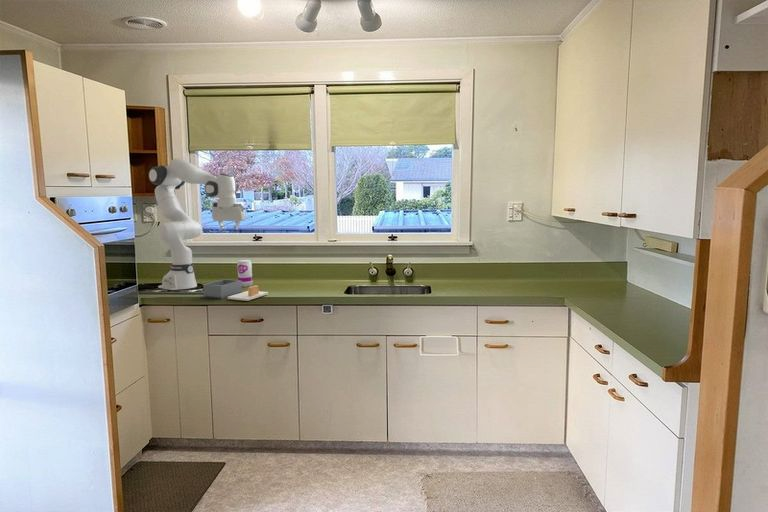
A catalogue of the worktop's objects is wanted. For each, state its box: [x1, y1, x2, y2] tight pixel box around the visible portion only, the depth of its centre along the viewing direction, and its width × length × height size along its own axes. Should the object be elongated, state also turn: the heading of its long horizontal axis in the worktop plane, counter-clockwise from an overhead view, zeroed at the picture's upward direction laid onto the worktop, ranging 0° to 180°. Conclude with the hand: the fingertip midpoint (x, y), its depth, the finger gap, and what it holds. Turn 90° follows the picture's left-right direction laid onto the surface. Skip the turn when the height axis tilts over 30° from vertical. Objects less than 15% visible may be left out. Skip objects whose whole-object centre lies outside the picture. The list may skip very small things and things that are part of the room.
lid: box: [227, 284, 269, 302], centre depth 262 cm, size 13×17×6 cm
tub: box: [202, 278, 243, 300], centre depth 268 cm, size 12×16×7 cm
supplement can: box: [236, 259, 254, 288], centre depth 294 cm, size 8×8×15 cm
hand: (229, 229), depth 271 cm, fingers open, 8 cm apart
